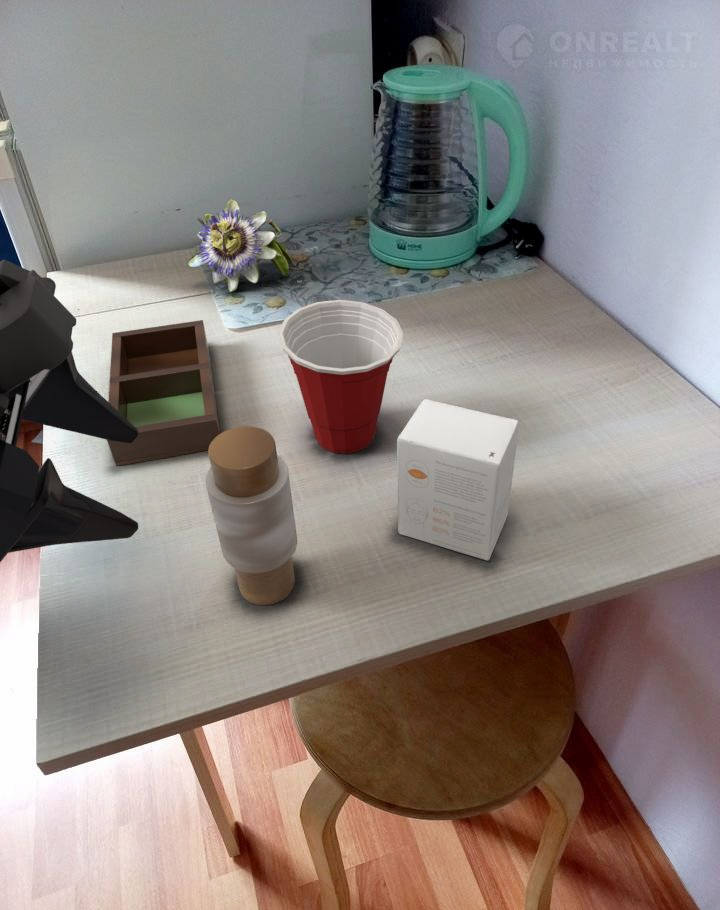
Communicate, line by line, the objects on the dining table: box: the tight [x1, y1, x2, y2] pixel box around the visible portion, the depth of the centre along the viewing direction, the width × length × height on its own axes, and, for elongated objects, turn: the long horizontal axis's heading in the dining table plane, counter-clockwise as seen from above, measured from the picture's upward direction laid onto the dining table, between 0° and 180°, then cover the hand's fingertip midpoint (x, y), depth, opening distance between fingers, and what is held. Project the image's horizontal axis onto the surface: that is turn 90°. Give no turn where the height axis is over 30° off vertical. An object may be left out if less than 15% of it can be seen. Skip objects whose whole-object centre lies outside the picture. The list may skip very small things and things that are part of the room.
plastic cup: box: [278, 299, 404, 455], centre depth 65 cm, size 11×11×12 cm
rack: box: [106, 319, 221, 467], centre depth 73 cm, size 19×10×4 cm, turn 13°
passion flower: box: [186, 198, 294, 293], centre depth 93 cm, size 11×11×12 cm
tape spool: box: [205, 425, 298, 606], centre depth 51 cm, size 6×6×14 cm
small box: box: [396, 398, 520, 561], centre depth 56 cm, size 8×6×10 cm
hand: (135, 480), depth 46 cm, fingers open, 9 cm apart
